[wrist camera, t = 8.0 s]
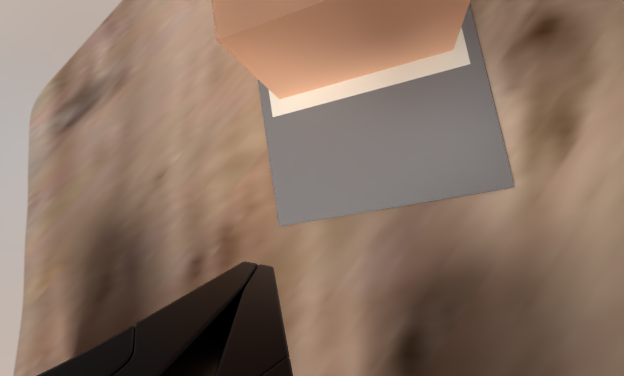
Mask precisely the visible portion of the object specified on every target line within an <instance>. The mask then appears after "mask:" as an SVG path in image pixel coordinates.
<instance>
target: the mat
mask: <svg viewBox="0 0 624 376" xmlns="http://www.w3.org/2000/svg"><path fill="white" fill-rule="evenodd" d="M258 84H259V91H260V98H261V105H262V112H263V119H264V125H265V132H266V139H267V146H268V153H269V160H270V167H271V174H272V180H273V187H274V194H275V201H276V208H277V215H278V222H279V226H285V225H291V224H297V223H303V222H309V221H315V220H321V219H327V218H333V217H339V216H345V215H351V214H357V213H363V212H369V211H375V210H381V209H387V208H393V207H399V206H405V205H411V204H417V203H423V202H429V201H435V200H441V199H447V198H453V197H459V196H465V195H471V194H477V193H483V192H490V191H496V190H502V189H508V188H513V187H515V186H514V182H513V178H512V174H511V170H510V166H509V162H508V158H507V154H506V150H505V146H504V142H503V138H502V133H501V129H500V125H499V121H498V117H497V113H496V109H495V105H494V101H493V97H492V93H491V89H490V85H489V81H488V77H487V73H486V69H485V65H484V60H483V56H482V52H481V48H480V44H479V40H478V36H477V32H476V28H475V24H474V20H473V16H472V12H471V8H470V4H469V6H468V9H467V12H466V15H465V18H464V21H463V23H462V26H461V29H460V32H459V35H458V38H457V41H456V44H455V47H454V50H452V51H448V52H445V53H441V54H438V55H434V56H431V57H427V58H424V59H420V60H417V61H413V62H410V63H406V64H403V65H399V66H396V67H392V68H389V69H385V70H382V71H378V72H375V73H371V74H368V75H364V76H361V77H357V78H354V79H350V80H347V81H343V82H340V83H336V84H333V85H329V86H326V87H322V88H319V89H315V90H312V91H308V92H305V93H301V94H298V95H294V96H290V97H287V98H283V99H278V98H277V97H276V96H275V95H274V94H273V93H272V92H271V91H270V90H269V89H268V88H267V87H266V86H265V85H264V84H263V83H262V82H260V81H259V80H258Z"/></svg>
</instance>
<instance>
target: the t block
mask: <svg viewBox="0 0 624 376" xmlns="http://www.w3.org/2000/svg"><path fill="white" fill-rule="evenodd" d="M469 3H470V0H212V8H213V15H214V23H215V31H216V38H217V41H218V42H219V43H220V44H221V45H222V46H223V47H224V48H226V49H227V50H228V51H229V52H230V53H231V54H232V55H233V56H234V57H235V58H236V59H237V60H238V61H239V62H240V63H241V64H242V65H244V66H245V67H246V68H247V69H248V70H249V71H250V72H251V73H252V74H253V75H254V76H255V77H256V78H257V79H258V80H259V81H260V82H262V83H263V84H264V85H265V86H266V87H267V88H268V89H269V90H270V91H271V92H272V93H273V94H274V95H275V96H276V97H277V98H278V99H283V98H287V97H290V96H294V95H298V94H301V93H305V92H308V91H312V90H315V89H319V88H322V87H326V86H329V85H333V84H336V83H340V82H343V81H347V80H350V79H354V78H357V77H361V76H364V75H368V74H371V73H375V72H378V71H382V70H385V69H389V68H392V67H396V66H399V65H403V64H406V63H410V62H413V61H417V60H420V59H424V58H427V57H431V56H434V55H438V54H441V53H445V52H448V51H452V50H454V47H455V44H456V41H457V38H458V35H459V32H460V29H461V26H462V23H463V21H464V18H465V15H466V12H467V9H468V6H469Z"/></svg>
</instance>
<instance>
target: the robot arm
mask: <svg viewBox="0 0 624 376" xmlns="http://www.w3.org/2000/svg"><path fill="white" fill-rule="evenodd" d="M37 376H293V373H292V367H291V362H290V359H289V352H288V346H287V341H286V335H285V329H284V324H283V318H282V313H281V307H280V301H279V296H278V290H277V285H276V279H275V274H274V269H273V267H271V266H266V265H259V266H258V264H256V263H251V262H242V263H240V264H238V265H237V266H235V267H233V268H232V269H230V270H228V271H226V272H225V273H223V274H221V275H219V276H218V277H216V278H214V279H212V280H211V281H209V282H207V283H205V284H204V285H202V286H200V287H198V288H197V289H195V290H193V291H192V292H190V293H188V294H186V295H185V296H183V297H181V298H179V299H178V300H176V301H174V302H172V303H171V304H169V305H167V306H165V307H164V308H162V309H160V310H159V311H157V312H155V313H153V314H152V315H150V316H148V317H146V318H145V319H143V320H141V321H139V322H138V323H136V324H135V327H134V326H130V327H129V328H127V329H125V330H123V331H122V332H120V333H118V334H117V335H115V336H113V337H111V338H109V339H107V340H106V341H104V342H102V343H100V344H98V345H97V346H95V347H93V348H91V349H89V350H87V351H85V352H83V353H81V354H79V355H77V356H75V357H73V358H71V359H69V360H67V361H65V362H64V363H62V364H60V365H58V366H56V367H54V368H51V369H49V370H47V371H45V372H43V373H41V374H39V375H37Z"/></svg>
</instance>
